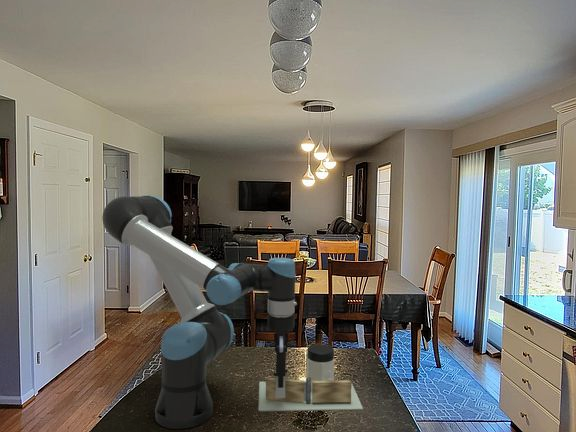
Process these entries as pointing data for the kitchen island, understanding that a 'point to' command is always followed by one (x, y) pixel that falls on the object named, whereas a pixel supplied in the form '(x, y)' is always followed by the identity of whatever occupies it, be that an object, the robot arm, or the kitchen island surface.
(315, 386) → the fixed panel
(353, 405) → the board
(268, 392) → the fence panel
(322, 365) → the jar
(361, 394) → the kitchen island surface
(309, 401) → the hinge post
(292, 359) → the kitchen island surface
